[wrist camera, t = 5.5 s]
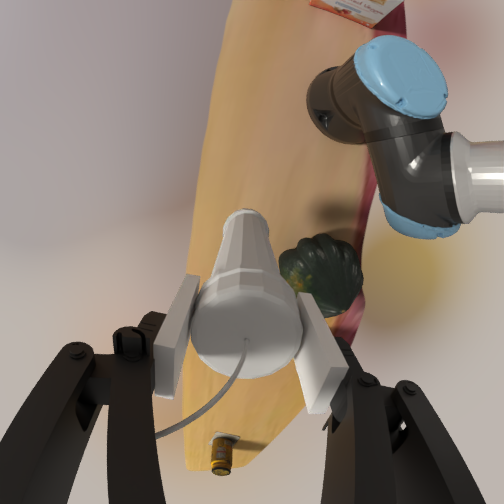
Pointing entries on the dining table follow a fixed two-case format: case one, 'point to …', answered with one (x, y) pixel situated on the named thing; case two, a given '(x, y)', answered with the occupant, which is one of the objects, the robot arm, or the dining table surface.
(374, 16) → the cracker box
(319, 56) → the dining table surface
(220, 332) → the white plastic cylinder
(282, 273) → the squash
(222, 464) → the condiment
